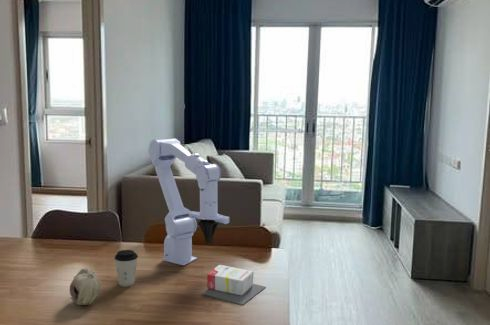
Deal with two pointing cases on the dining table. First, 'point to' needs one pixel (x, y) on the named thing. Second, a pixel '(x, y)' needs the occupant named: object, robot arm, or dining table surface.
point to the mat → (233, 297)
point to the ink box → (230, 279)
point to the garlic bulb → (84, 287)
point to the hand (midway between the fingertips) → (208, 242)
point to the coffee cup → (126, 267)
